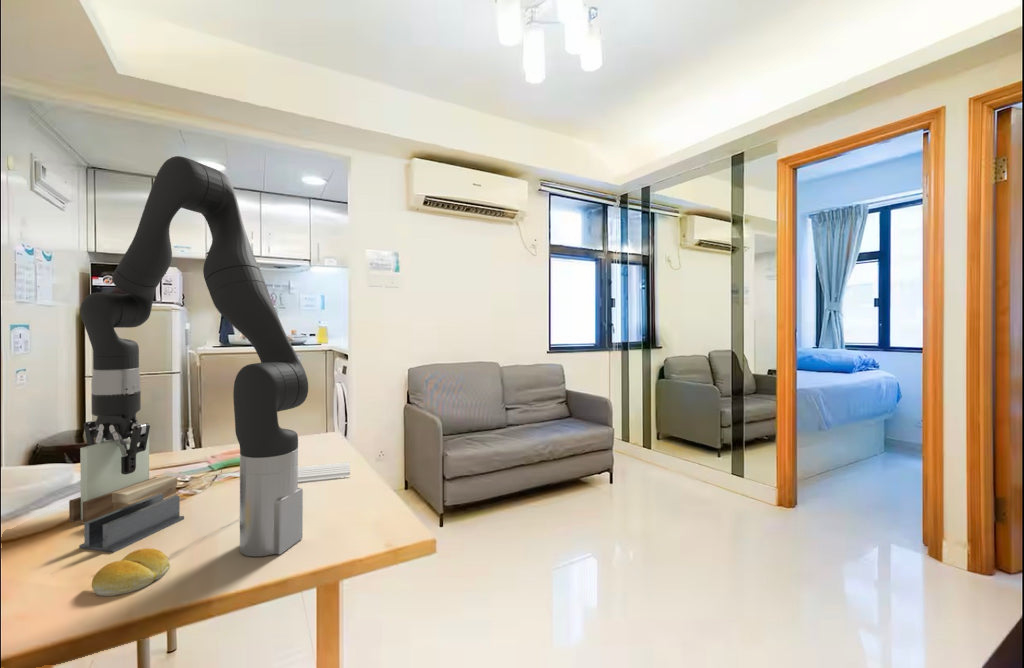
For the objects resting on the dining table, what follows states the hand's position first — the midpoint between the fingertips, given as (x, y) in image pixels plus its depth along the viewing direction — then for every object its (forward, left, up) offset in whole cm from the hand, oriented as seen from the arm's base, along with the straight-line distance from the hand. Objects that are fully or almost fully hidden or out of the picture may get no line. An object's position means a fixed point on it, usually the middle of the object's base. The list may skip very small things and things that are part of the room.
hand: (117, 471), depth 90 cm
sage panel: (0, 0, -7) cm, 7 cm away
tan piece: (-7, 0, -7) cm, 10 cm away
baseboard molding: (-19, -26, -10) cm, 34 cm away
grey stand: (-15, +8, -9) cm, 19 cm away
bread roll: (-26, +18, -9) cm, 33 cm away
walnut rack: (-3, 0, -9) cm, 9 cm away
